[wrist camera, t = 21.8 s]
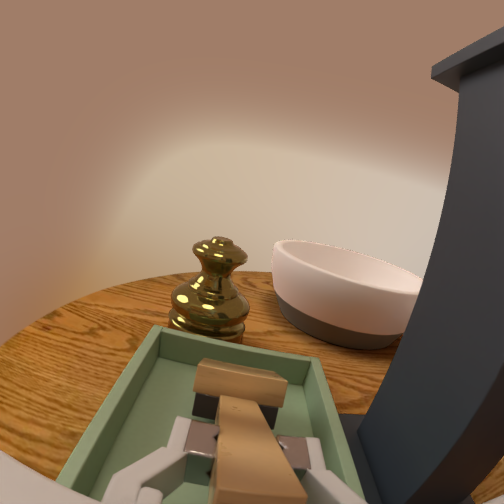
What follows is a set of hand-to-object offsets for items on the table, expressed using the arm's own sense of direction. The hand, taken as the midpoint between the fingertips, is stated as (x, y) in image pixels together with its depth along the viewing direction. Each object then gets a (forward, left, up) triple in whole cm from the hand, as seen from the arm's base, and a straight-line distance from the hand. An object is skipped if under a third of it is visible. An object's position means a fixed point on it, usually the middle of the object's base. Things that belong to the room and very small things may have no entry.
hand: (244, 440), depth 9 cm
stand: (+12, +3, -7) cm, 14 cm away
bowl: (+14, +31, -7) cm, 35 cm away
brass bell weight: (-3, +19, -7) cm, 21 cm away
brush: (0, +2, -3) cm, 3 cm away
